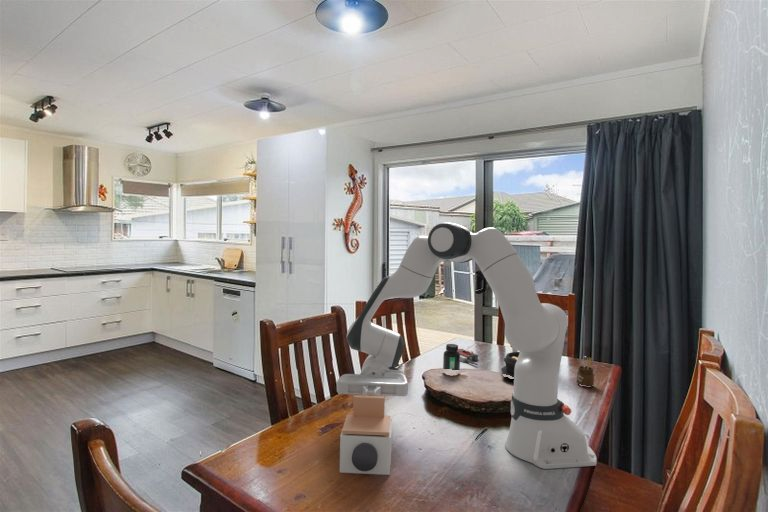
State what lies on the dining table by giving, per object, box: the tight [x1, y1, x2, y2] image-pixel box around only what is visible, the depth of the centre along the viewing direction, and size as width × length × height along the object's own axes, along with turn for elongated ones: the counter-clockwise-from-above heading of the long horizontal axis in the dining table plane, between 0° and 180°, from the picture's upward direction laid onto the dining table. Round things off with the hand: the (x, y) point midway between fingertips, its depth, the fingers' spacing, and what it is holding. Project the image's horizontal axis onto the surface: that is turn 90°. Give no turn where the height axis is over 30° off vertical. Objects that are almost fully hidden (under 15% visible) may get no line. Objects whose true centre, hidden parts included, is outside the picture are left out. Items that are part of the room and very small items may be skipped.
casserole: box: [501, 351, 520, 377], centre depth 171 cm, size 25×19×8 cm
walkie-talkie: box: [458, 348, 479, 367], centre depth 192 cm, size 9×4×20 cm
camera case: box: [339, 418, 393, 476], centre depth 103 cm, size 12×12×9 cm
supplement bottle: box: [442, 343, 461, 370], centre depth 172 cm, size 7×7×12 cm
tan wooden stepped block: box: [341, 394, 392, 436], centre depth 103 cm, size 11×9×6 cm
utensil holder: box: [576, 356, 595, 386], centre depth 161 cm, size 6×6×12 cm
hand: (370, 395), depth 112 cm, fingers closed
